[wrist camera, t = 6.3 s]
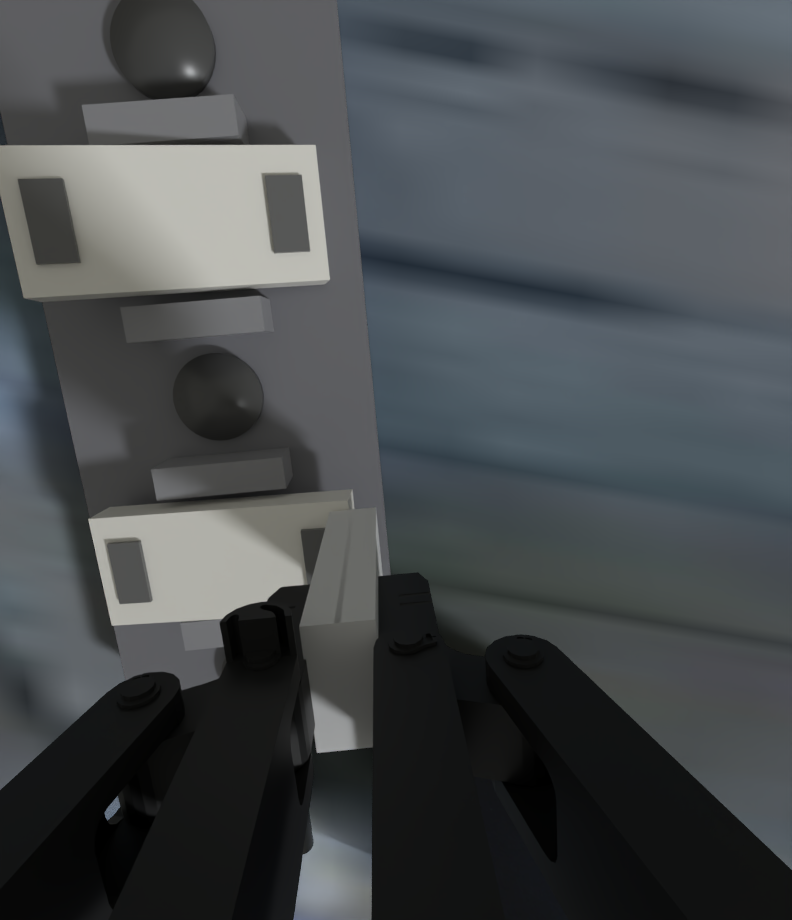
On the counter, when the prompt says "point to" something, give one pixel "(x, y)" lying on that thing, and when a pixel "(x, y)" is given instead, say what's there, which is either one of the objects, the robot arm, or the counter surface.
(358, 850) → the counter surface
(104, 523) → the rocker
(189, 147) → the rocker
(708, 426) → the counter surface
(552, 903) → the small box
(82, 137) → the power strip
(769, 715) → the counter surface
